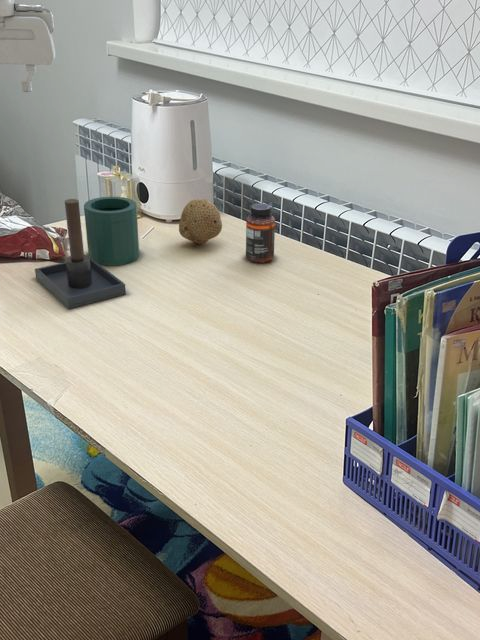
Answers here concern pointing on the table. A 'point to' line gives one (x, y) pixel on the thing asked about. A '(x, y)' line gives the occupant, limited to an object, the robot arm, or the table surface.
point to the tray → (100, 289)
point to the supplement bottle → (260, 233)
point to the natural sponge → (200, 221)
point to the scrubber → (76, 249)
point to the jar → (112, 230)
